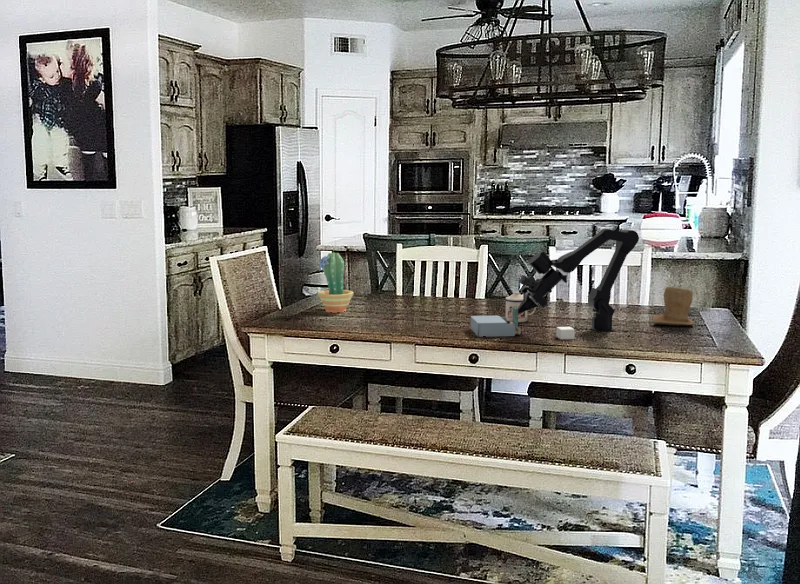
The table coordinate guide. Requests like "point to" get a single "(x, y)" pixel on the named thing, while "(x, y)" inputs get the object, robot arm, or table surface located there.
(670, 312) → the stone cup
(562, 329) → the pedestal
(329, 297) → the potted cactus
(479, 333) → the housing
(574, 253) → the robot arm
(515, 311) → the tray
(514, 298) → the teacup with lid
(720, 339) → the table surface
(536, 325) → the table surface
